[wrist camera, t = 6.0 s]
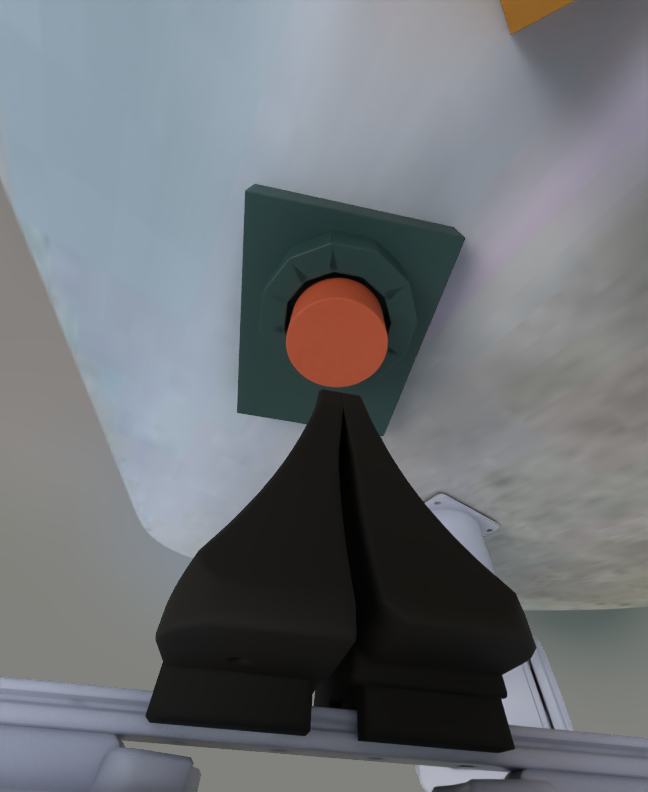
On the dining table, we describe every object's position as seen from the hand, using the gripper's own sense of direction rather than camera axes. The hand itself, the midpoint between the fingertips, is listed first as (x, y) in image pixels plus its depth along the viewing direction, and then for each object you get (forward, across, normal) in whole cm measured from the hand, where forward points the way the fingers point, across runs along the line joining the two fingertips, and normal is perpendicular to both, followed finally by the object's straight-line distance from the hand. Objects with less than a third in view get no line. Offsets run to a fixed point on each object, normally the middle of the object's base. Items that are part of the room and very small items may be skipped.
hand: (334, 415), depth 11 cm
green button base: (+10, 0, +2) cm, 11 cm away
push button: (+7, 0, 0) cm, 7 cm away
